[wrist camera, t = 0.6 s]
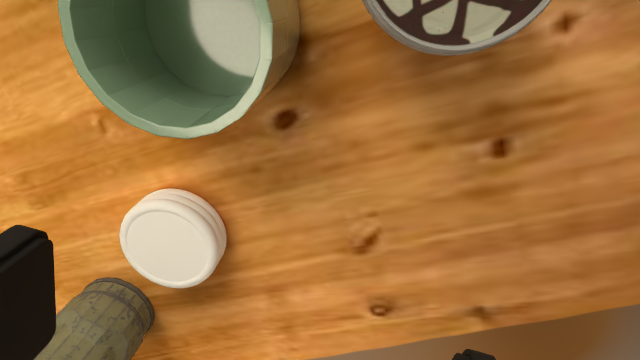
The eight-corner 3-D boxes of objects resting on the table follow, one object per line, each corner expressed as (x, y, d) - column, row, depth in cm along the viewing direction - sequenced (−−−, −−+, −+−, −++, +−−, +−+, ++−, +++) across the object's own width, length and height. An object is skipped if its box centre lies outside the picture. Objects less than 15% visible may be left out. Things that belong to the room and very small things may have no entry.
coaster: (210, 283, 47) (198, 305, 44) (125, 245, 46) (107, 265, 43) (241, 213, 43) (230, 231, 39) (148, 170, 42) (130, 185, 39)
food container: (365, 51, 35) (360, 73, 26) (357, -33, 32) (348, -40, 23) (526, 29, 33) (583, 45, 24) (530, -62, 30) (595, -83, 21)
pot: (234, -115, 31) (175, -157, 22) (331, 50, 35) (315, 71, 26) (107, -7, 36) (14, -5, 26) (206, 129, 39) (155, 171, 30)
